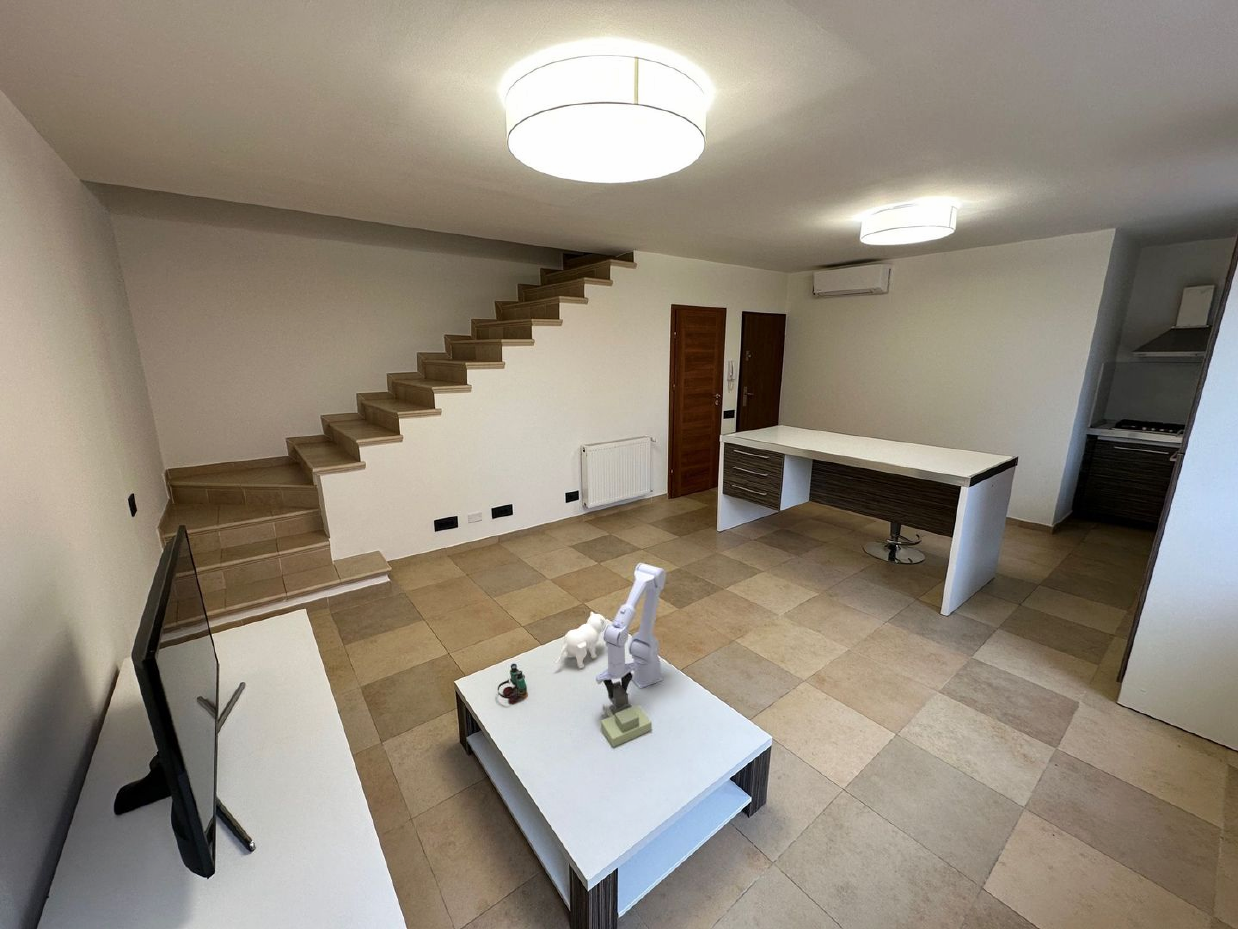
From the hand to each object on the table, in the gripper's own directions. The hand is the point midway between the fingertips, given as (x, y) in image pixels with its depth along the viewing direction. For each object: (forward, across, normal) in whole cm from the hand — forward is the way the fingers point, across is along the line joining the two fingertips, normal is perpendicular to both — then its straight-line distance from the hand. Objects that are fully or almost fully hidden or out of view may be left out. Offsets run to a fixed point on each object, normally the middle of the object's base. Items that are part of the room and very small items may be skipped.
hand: (617, 694), depth 165 cm
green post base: (+6, +2, +6) cm, 8 cm away
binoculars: (+6, +30, -23) cm, 38 cm away
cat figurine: (+6, 0, -30) cm, 30 cm away
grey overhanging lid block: (+2, 0, 0) cm, 3 cm away
